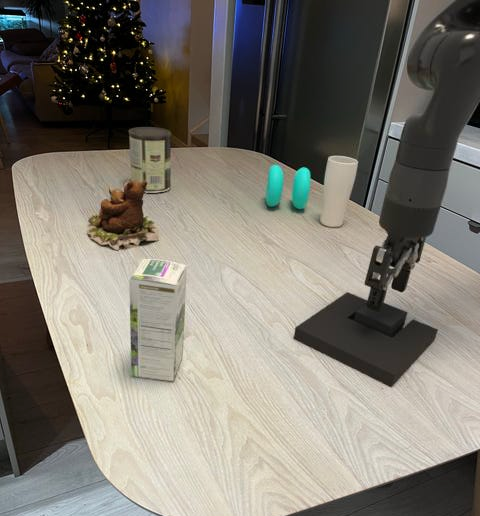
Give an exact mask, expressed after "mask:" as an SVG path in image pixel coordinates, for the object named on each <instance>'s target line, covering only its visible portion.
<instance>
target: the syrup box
mask: <svg viewBox="0 0 480 516" xmlns="http://www.w3.org/2000/svg"><path fill="white" fill-rule="evenodd" d="M187 270H188V266H187V265H186V264H185V263H184V264H183V263H180V262H175V261H171V260H165V259H155V258H142V260H141V262H140V264H139V265H138V266H137V268H136V269H135V270H134V272H133V274H132V275H131V277H130V279H129V282H128V283H129V285H128V286H129V331H130V333H129V334H130V368H131V369H130V374H131V376H132V377H135V378H136V377H137V378H142V379H143V378H144V379H151V380H152V379H153V380H159V381H167V382H174V381H175V379H176V376H177V374H178V370H179V368H180V365H181V362H182V359H183V356H184V338H185V334H184V333H185V319H186V316H185V315H186V296H187V295H186V293H187Z"/></svg>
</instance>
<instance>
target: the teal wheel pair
mask: <svg viewBox="0 0 480 516" xmlns="http://www.w3.org/2000/svg"><path fill="white" fill-rule="evenodd" d="M293 177H294V178H293V181H292V189H291V201H292V204H293V207H295V208H296V209H298V210H303V209H304V208H306V206H307V204H308V201H309V197H310V190H311V177H312V176H311V171H310V170H309V168H307V167H300V168H299V169H297V170H296V173H294V176H293ZM266 182H267V183H266V192H265V193H266V194H265V201H266V204H267V206H268V207H272V208H273V207H276V206H277V205H278V204H279V203H280V201H281V199H282V195H283V188H284V172H283V169H282V167H281V166H280V165H278V164H273V165H271V166H270V167H269V169H268V175H267V181H266Z"/></svg>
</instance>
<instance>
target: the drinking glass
mask: <svg viewBox="0 0 480 516" xmlns="http://www.w3.org/2000/svg"><path fill="white" fill-rule="evenodd" d="M358 165H359V161H358V160H357V159H355V158H353V157H350V156H344V155H330V156H328V157H327V161H326V167H325V171H324V172H325V173H324V180H323V189H322V191H323V192H322V203H321V213H320V218H319V221H320V224H322V225H323V226H325V227H329V228H339V227H341V226H342V225H343V224H344V219H345V215H346V211H347V209H348V204H349V202H350V198H351V195H352V191H353V188H354V184H355V181H356V177H357V172H358Z"/></svg>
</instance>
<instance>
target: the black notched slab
mask: <svg viewBox="0 0 480 516" xmlns="http://www.w3.org/2000/svg"><path fill="white" fill-rule="evenodd" d="M367 301H368V299H365V298H363V297H360V296H358V295H356V294H353V293H351V292H349V291H346V292H345V293H344V294H342V295H341V296H339V297H338V298H337V299H335V300H333V301H332V302H330V303H329V304H328V305H326V306H324V307H322V308H321V309H320V310H319V311H317V312H316V313H314V314H313V315H311V316H310V317H309V318H307V319H306V320H304V321H303V322H301V323H299V324H298V325H297V326H295V328H294V333H293V339H294V340H296V341H298V342H300V343H302V344H304V345H306V346H308V347H310V348H313V349H314V350H316V351H318V352H320V353H322V354H324V355H326V356H328V357H331V358H332V359H334V360H336V361H339V362H341V363H342V364H344V365H347V366H348V367H350V368H352V369H354V370H356V371H358V372H360V373H362V374H365V375H366V376H369V377H371V378H373V379H374V380H376V381H379V382H381V383H383V384H385V385H386V386H389V387H392V388H393V386H394V385H395V383H396V382H397V381H399V379H400V378H401V377H402V376H403V375H404V374H405V373H406V372H407V371H408V370H409V369H410V367H411V366H412V365H414V363H415V362H416V361H417V360H418V359H419V358H420V357H421V355H422V354H423V353H424V352H425V351H426V350H427V348H429V346H431V344H432V343H433V342H434V341H435V340H436V337H437V334H438V331H439V329H438V328H436V327H433V326H430V325H429V324H427V323H424V322H422V321H418V320H416V319H414V318H412V319H411V320H410V321H409V322H407V324H406V325H404V326H403V329H401V330H400V331H399V332H398V333H397V334H396V335H395V336H394V337H393V338H392V337H390V336H387V335H385V334H383V333H381V332H378V331H376V330H374V329H372V328H369V327H367V326H365V325H362V324H360V323H358V322H356V321H354V318H355V314H356V311H357V310H359V309H360V308H361V307H363V306H364V305H365V304H366V303H367Z"/></svg>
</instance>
